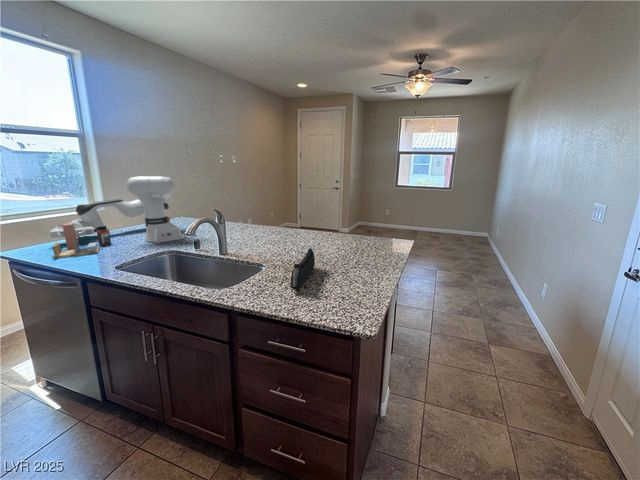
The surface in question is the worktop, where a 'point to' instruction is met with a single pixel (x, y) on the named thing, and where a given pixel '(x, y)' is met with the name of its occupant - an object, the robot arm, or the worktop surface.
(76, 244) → the bookend
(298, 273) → the magazine
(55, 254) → the shelf
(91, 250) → the flat bluegrey book
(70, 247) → the boxed book
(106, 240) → the supplement bottle
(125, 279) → the worktop surface
